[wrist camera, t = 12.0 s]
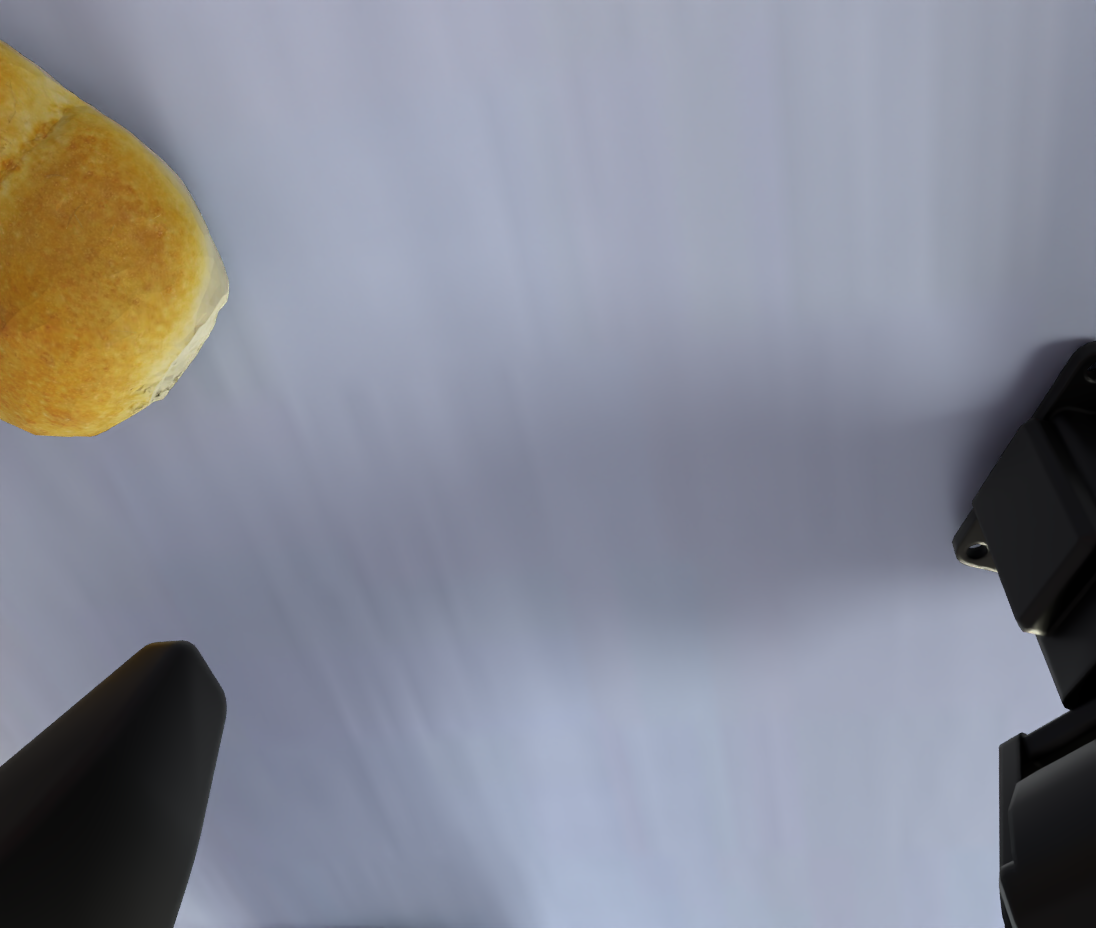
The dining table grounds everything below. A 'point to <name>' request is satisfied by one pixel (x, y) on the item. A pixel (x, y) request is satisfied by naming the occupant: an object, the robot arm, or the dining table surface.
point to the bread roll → (92, 263)
